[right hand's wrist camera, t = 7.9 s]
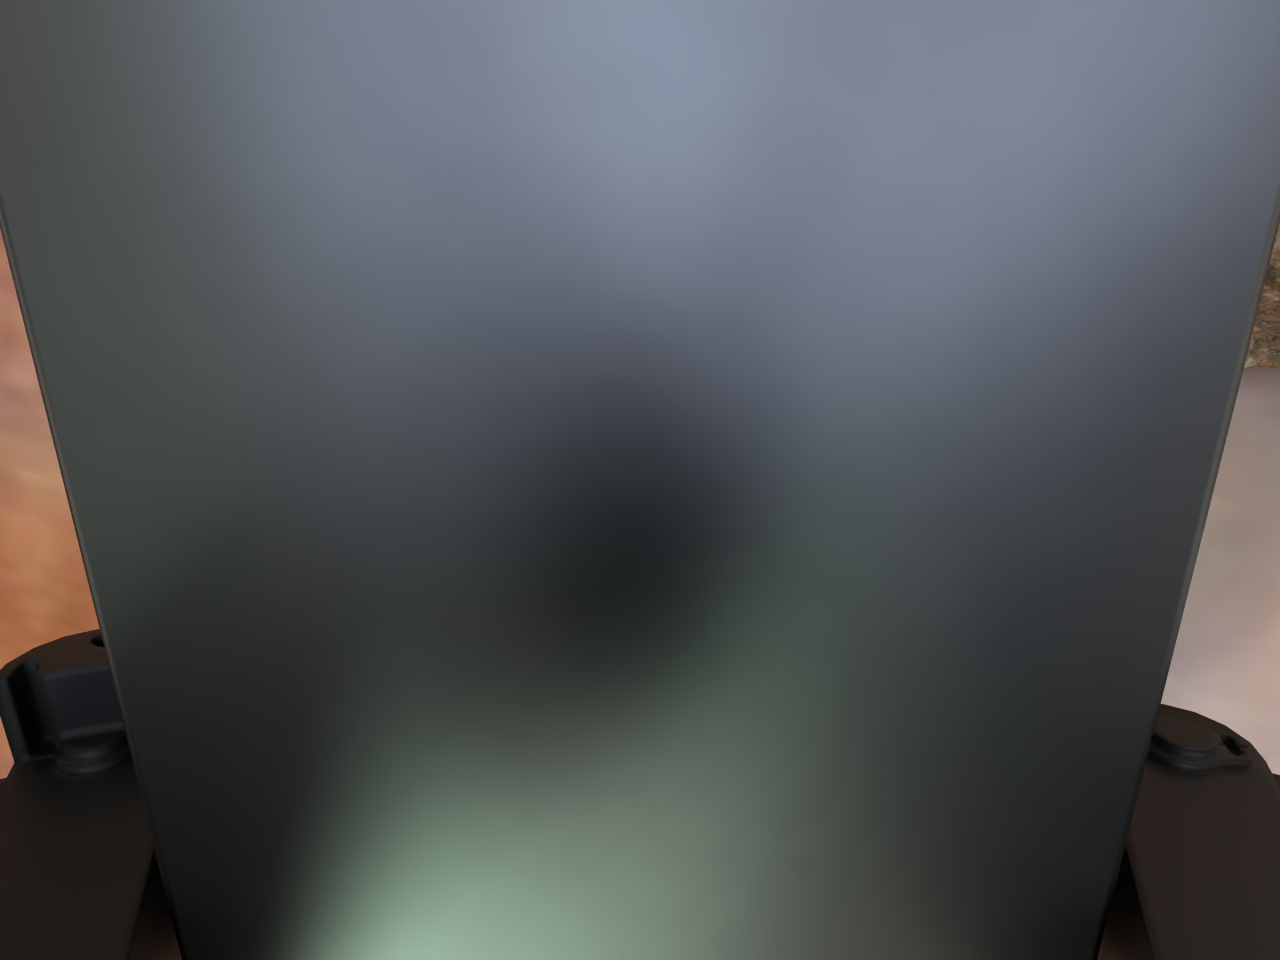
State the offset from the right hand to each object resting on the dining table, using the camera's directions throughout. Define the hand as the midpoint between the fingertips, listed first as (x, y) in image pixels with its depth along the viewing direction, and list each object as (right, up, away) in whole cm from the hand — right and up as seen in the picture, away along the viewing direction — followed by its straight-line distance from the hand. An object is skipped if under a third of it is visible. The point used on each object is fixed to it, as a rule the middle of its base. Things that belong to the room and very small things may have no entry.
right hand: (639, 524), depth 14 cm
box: (0, +9, -3) cm, 9 cm away
